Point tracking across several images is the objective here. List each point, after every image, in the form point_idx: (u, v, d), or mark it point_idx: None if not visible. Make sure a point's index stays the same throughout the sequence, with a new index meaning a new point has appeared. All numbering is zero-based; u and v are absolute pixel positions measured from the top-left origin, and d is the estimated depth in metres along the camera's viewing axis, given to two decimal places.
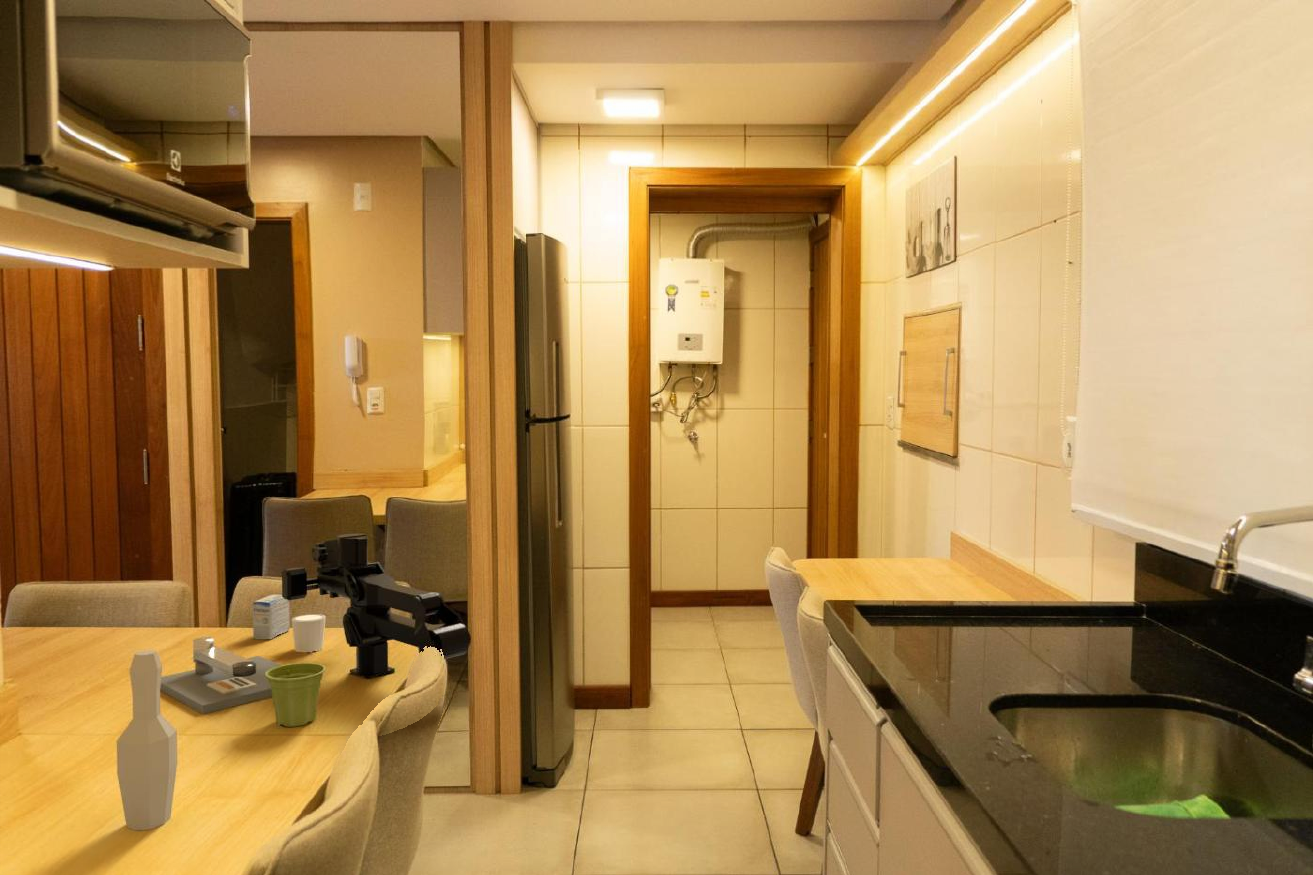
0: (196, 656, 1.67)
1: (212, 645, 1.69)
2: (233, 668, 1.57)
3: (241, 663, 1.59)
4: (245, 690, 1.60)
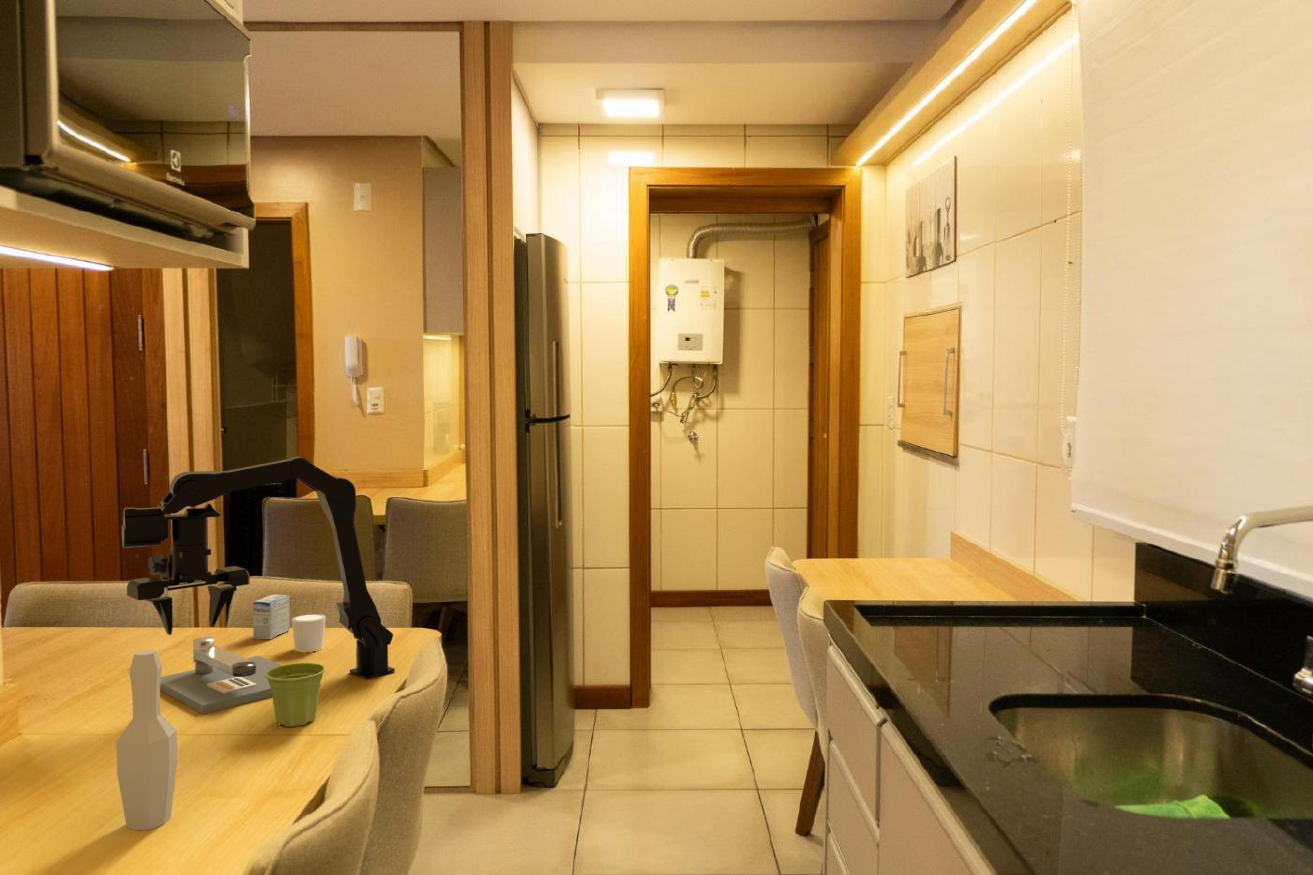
0: (196, 656, 1.67)
1: (212, 645, 1.69)
2: (233, 668, 1.57)
3: (241, 663, 1.59)
4: (245, 690, 1.60)
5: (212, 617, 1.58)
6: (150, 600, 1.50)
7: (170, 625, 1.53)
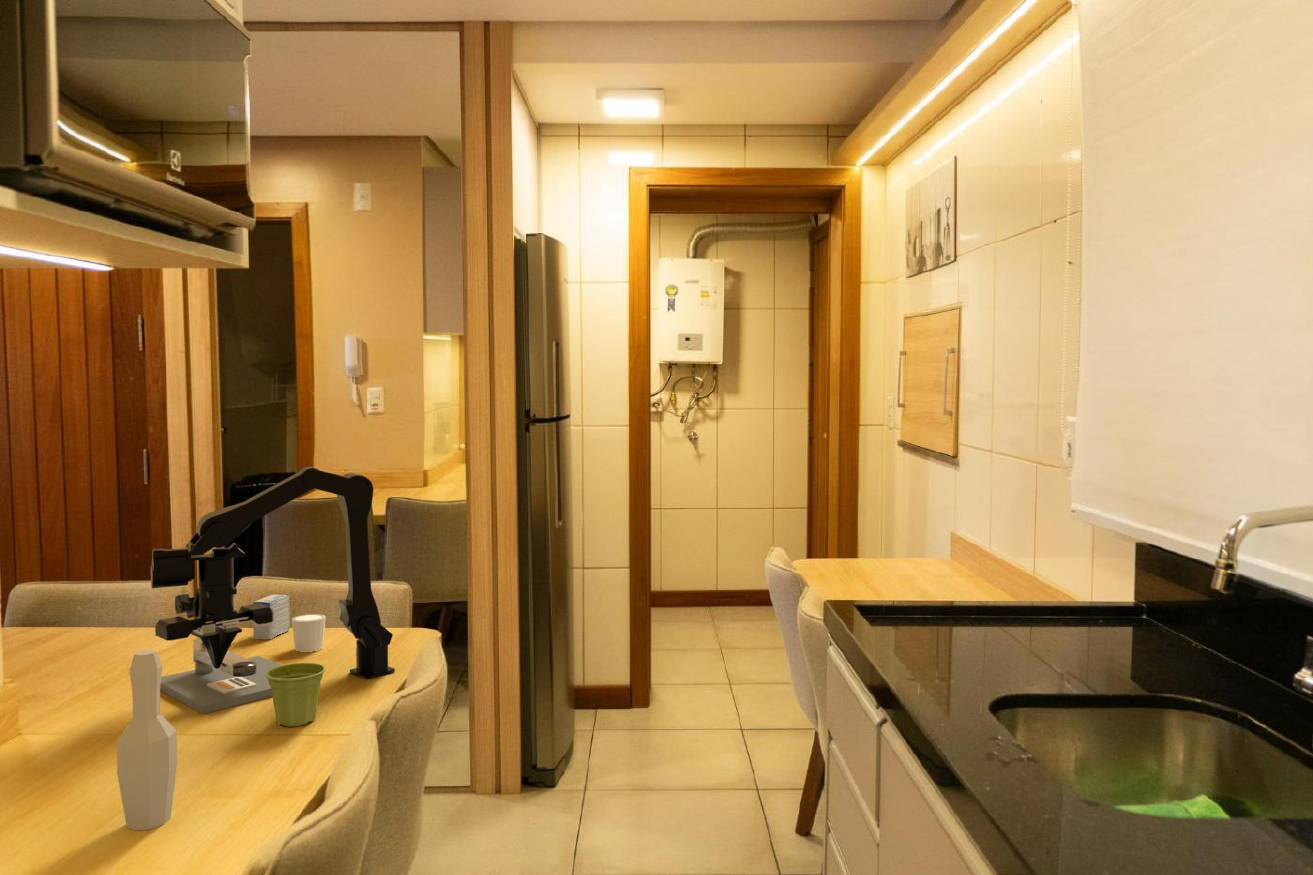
0: (196, 656, 1.67)
1: None
2: (233, 668, 1.57)
3: (241, 663, 1.59)
4: (245, 690, 1.60)
5: (218, 659, 1.59)
6: (199, 636, 1.56)
7: (217, 659, 1.59)
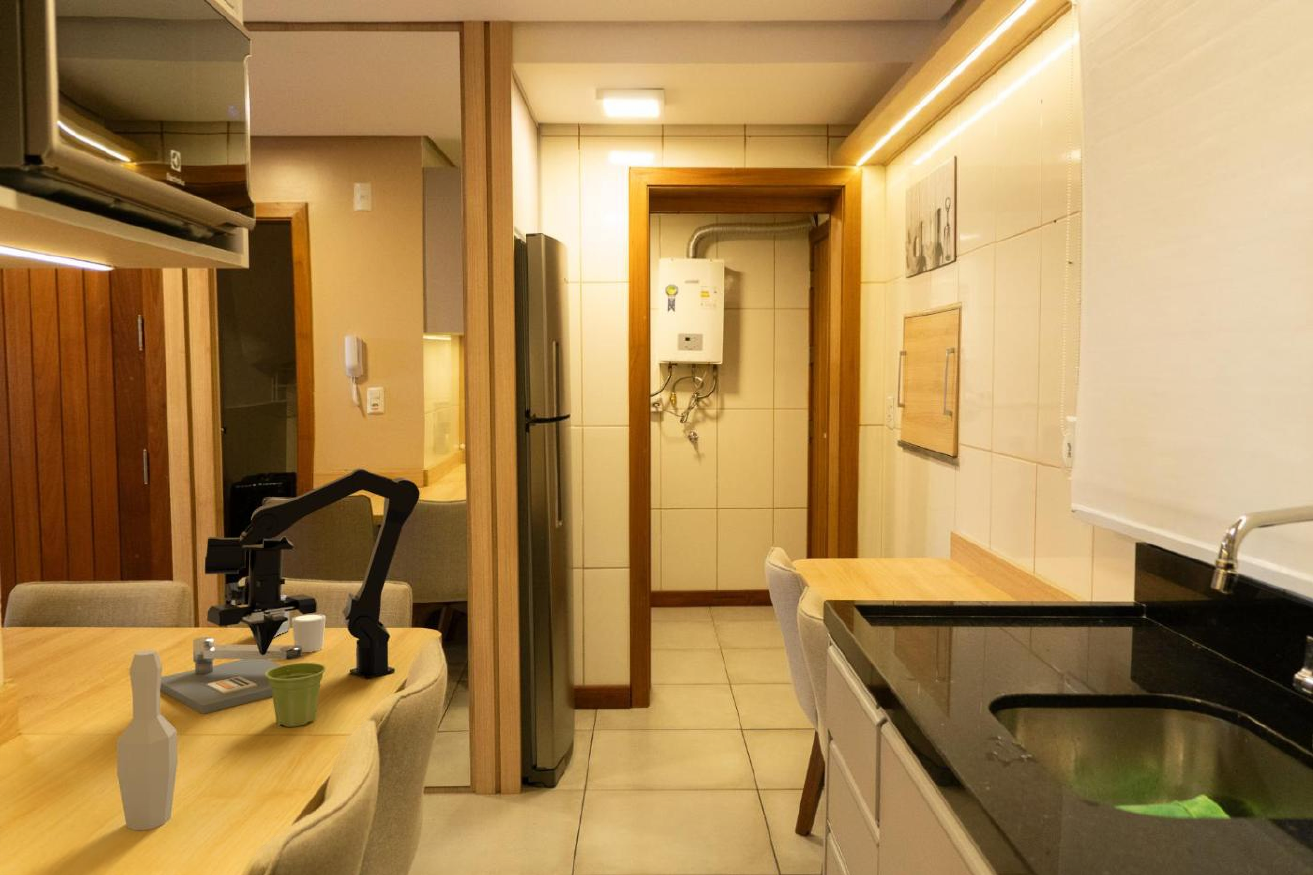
0: (206, 655, 1.68)
1: None
2: (287, 652, 1.67)
3: (285, 648, 1.69)
4: (245, 690, 1.60)
5: (264, 646, 1.66)
6: (248, 623, 1.63)
7: (264, 646, 1.66)
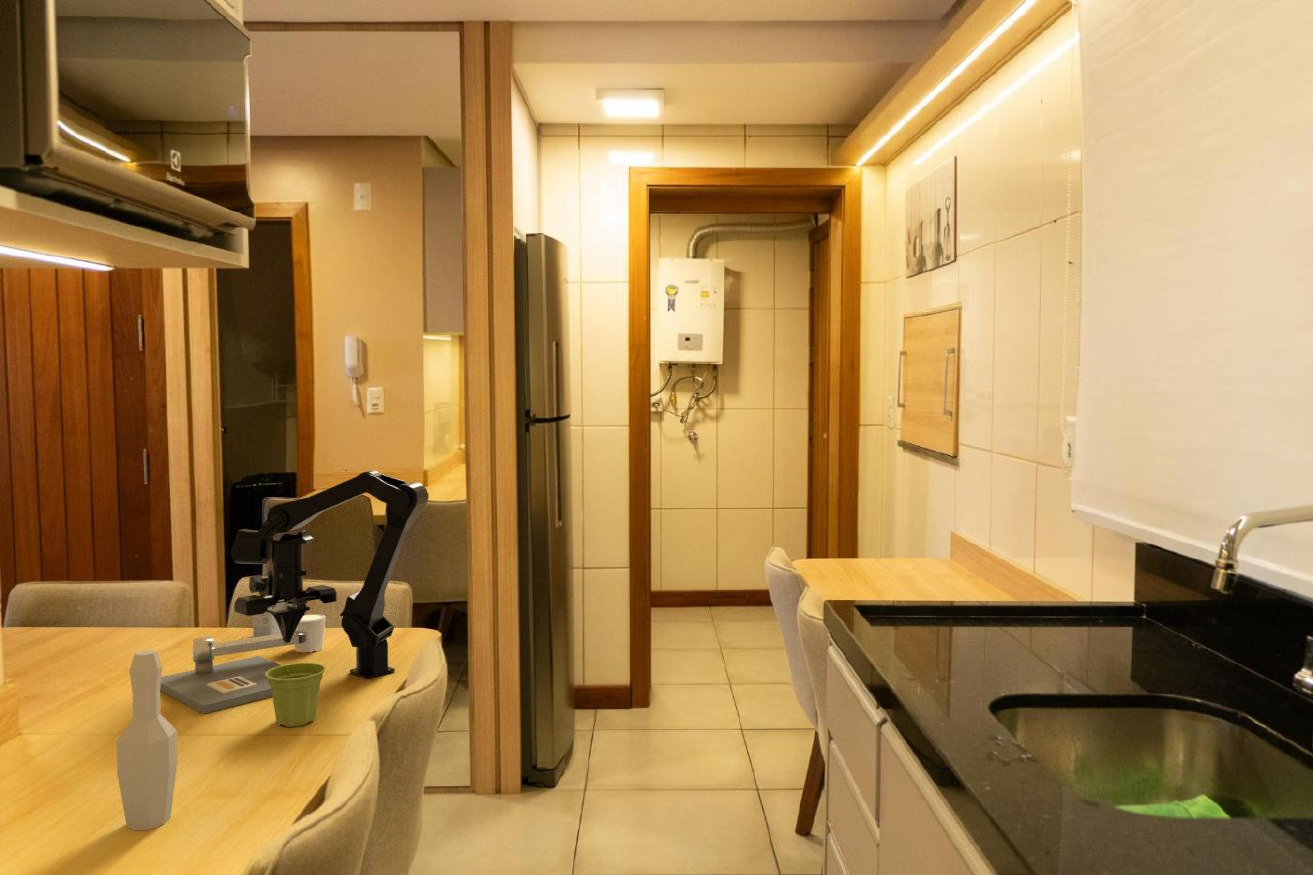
0: (215, 653, 1.69)
1: None
2: (299, 636, 1.78)
3: None
4: (245, 690, 1.60)
5: (288, 634, 1.75)
6: (273, 612, 1.72)
7: (288, 634, 1.75)
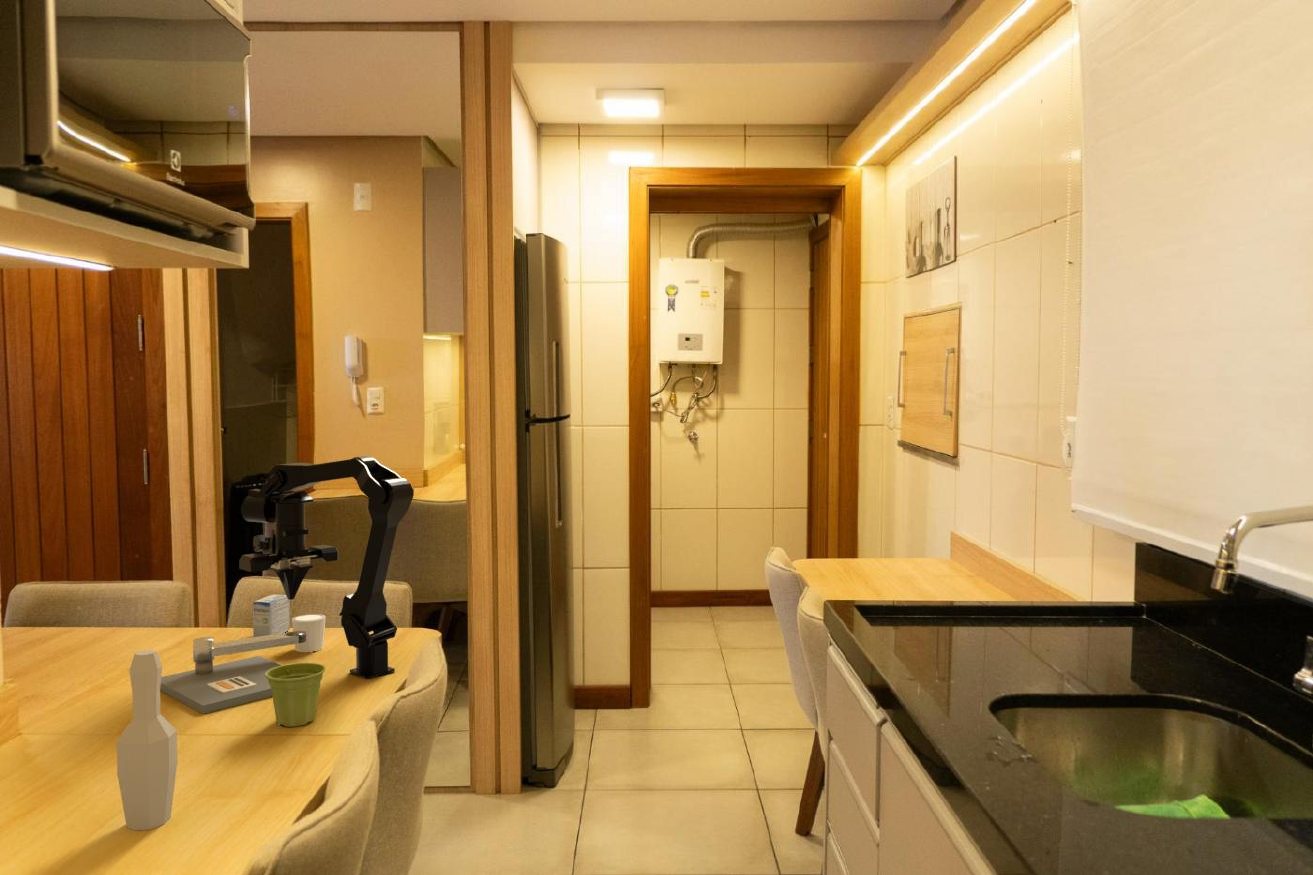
0: (215, 653, 1.69)
1: None
2: (299, 636, 1.78)
3: (290, 634, 1.79)
4: (245, 690, 1.60)
5: (293, 591, 1.81)
6: (276, 570, 1.78)
7: (291, 591, 1.80)
